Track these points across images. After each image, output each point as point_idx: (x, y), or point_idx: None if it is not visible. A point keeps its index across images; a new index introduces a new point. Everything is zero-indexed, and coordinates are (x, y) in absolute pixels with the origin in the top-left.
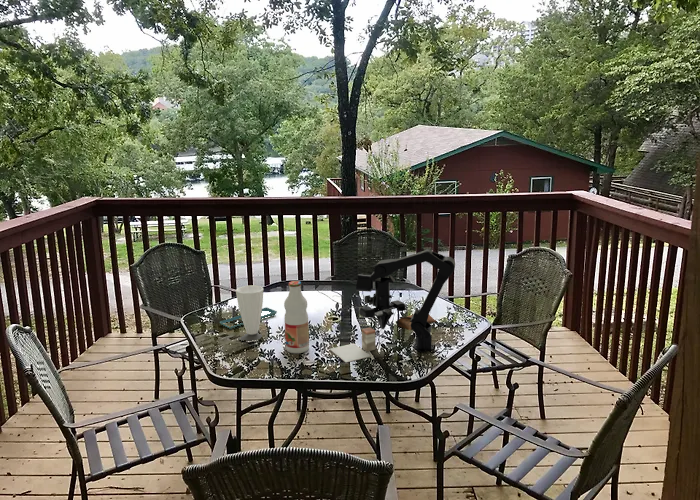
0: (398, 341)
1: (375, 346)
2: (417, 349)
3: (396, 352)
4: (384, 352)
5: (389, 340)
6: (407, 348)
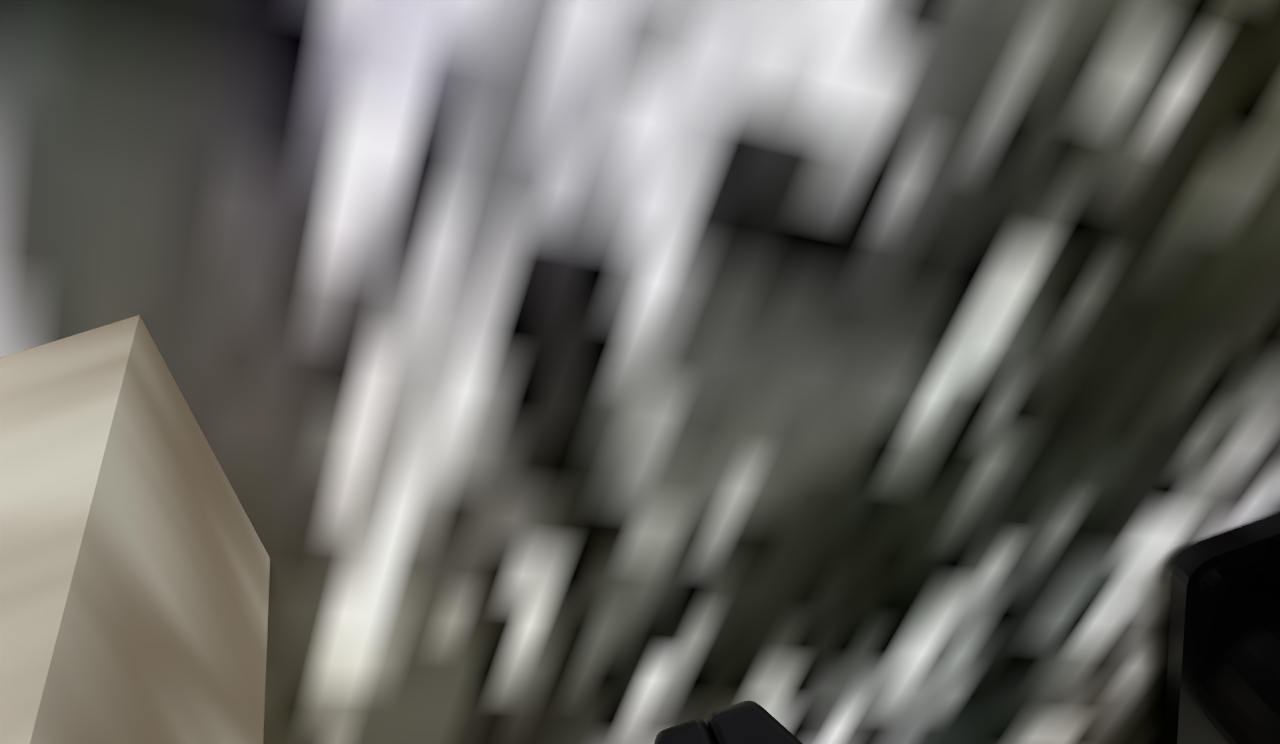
0: (1086, 164)
1: (267, 618)
2: (1174, 701)
3: None
4: (469, 724)
5: (888, 22)
6: (1047, 582)
